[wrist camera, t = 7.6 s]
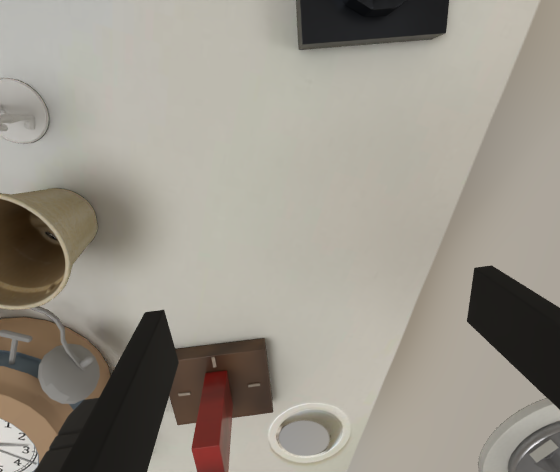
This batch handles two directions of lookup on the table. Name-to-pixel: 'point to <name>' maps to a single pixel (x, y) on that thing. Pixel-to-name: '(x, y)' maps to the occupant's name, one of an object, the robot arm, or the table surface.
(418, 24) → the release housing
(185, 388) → the base plate
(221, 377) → the red rectangular block
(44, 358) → the alarm clock
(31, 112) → the figurine
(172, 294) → the table surface
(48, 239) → the flower pot
